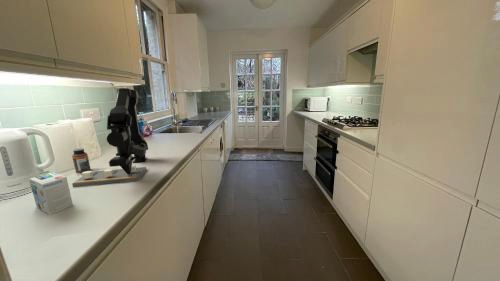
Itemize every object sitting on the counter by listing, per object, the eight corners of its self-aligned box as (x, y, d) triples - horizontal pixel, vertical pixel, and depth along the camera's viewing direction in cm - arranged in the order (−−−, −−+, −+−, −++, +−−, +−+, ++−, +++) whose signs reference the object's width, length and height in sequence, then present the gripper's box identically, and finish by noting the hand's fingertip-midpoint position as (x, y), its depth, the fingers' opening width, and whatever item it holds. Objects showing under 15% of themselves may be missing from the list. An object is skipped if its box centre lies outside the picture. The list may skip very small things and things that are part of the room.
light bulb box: (35, 207, 71) (27, 178, 68) (60, 198, 77) (53, 171, 74) (49, 215, 66) (40, 184, 63) (74, 205, 72) (67, 176, 69)
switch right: (85, 177, 91) (84, 171, 90) (93, 176, 91) (91, 170, 91) (82, 178, 89) (81, 173, 88) (90, 178, 89) (89, 172, 89)
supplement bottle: (75, 170, 104) (70, 149, 101) (90, 167, 108) (85, 147, 105) (76, 174, 100) (70, 151, 97) (91, 170, 103) (86, 149, 101)
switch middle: (106, 175, 92) (105, 169, 92) (114, 174, 93) (113, 169, 92) (104, 177, 90) (103, 171, 90) (112, 176, 91) (111, 170, 90)
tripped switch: (129, 171, 97) (128, 165, 96) (136, 170, 97) (135, 165, 97) (128, 172, 95) (127, 167, 94) (135, 172, 95) (134, 166, 95)
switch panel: (91, 174, 99) (90, 170, 99) (146, 169, 104) (145, 166, 103) (72, 186, 86) (72, 183, 85) (137, 180, 90) (136, 177, 90)
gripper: (136, 144, 81) (141, 181, 85) (149, 135, 99) (153, 165, 102) (105, 146, 79) (112, 183, 83) (124, 136, 97) (129, 167, 100)
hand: (129, 174), depth 92 cm, fingers closed
